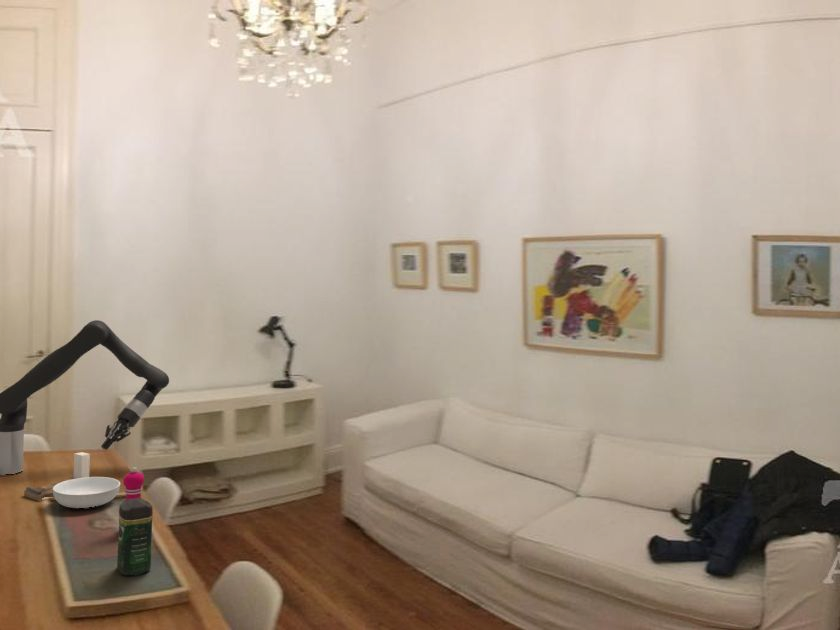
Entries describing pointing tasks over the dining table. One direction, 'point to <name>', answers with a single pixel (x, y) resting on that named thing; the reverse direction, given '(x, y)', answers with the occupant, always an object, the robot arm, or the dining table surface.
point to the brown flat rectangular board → (40, 492)
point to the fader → (81, 465)
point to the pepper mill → (133, 484)
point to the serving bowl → (86, 491)
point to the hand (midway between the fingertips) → (103, 448)
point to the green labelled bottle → (134, 536)
